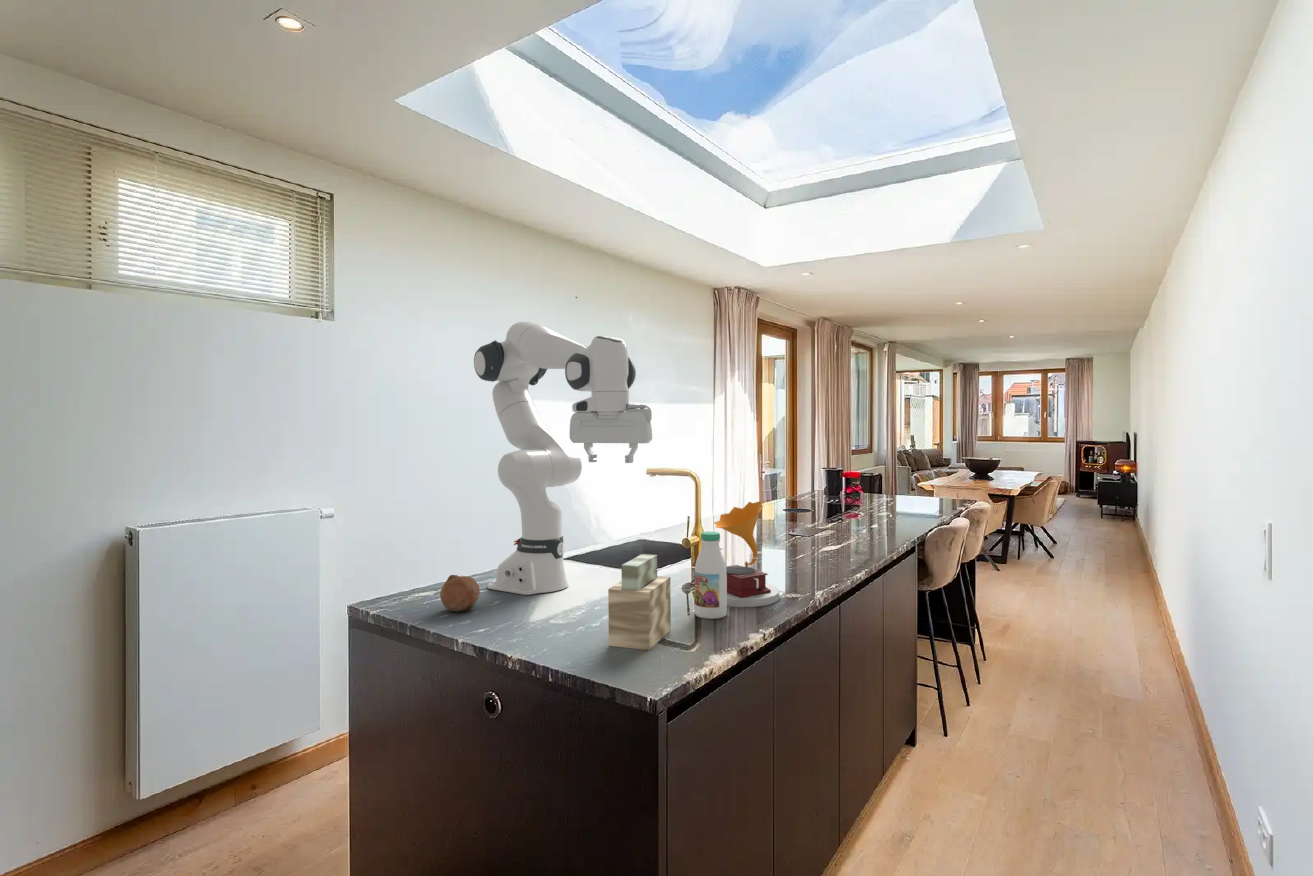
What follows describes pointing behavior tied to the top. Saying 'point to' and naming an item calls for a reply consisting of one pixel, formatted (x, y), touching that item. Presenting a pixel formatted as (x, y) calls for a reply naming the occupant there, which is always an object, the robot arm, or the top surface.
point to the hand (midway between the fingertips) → (610, 462)
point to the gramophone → (744, 581)
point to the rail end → (639, 572)
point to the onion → (459, 593)
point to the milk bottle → (710, 579)
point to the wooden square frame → (639, 614)
